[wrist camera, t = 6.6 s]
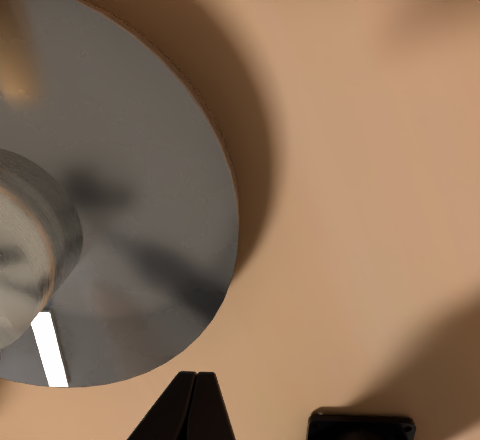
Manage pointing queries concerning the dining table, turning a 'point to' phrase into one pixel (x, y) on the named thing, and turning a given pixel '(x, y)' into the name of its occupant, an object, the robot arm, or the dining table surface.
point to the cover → (32, 242)
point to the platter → (116, 193)
